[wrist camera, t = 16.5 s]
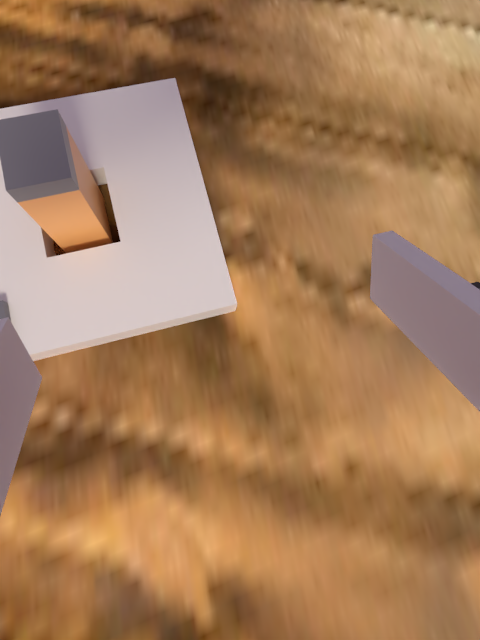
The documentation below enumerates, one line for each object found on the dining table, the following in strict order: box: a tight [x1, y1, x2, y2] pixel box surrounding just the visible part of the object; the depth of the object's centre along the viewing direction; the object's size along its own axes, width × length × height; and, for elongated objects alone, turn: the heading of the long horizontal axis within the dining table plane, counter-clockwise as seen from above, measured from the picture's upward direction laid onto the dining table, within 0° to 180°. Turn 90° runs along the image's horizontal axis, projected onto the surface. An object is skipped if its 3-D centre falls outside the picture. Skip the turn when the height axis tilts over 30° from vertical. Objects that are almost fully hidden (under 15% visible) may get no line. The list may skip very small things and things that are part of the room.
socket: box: [0, 78, 237, 361], centre depth 35 cm, size 22×22×3 cm
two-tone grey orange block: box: [0, 109, 113, 253], centre depth 31 cm, size 5×4×11 cm
